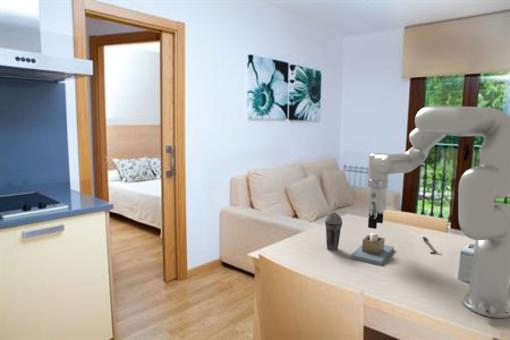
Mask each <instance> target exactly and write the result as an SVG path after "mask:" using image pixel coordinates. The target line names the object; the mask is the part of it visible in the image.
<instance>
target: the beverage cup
mask: <svg viewBox="0 0 510 340" xmlns="http://www.w3.org/2000/svg"><path fill="white" fill-rule="evenodd" d="M333 205H334V207H333V209H334V210H333V212H332V213H329V214H327V216H326V218H325V220H324V223H325V224H324V225H325V236H326V239H325V240H326V250H328V251H330V252H331V251H332V252H335V251H338V249H339V244H340V239H341V237H340V236H341V230H342V227H343V219H342V217H341V215H339V214H338V213H336V207H337V202H334V204H333Z"/></svg>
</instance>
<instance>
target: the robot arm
mask: <svg viewBox="0 0 510 340" xmlns="http://www.w3.org/2000/svg"><path fill="white" fill-rule="evenodd" d="M414 125H415V127H414V129H412V130H411V132H410V133H409V134H408V135H409V136H408V138H409V139H408V140H409V142H410V143H411V145H412V147H411V148H409V149H407V151H405V152H404V153H385V152H372V153H370V154H369V156H368V171H367V173H368V175H367V188H369V190H368V192H369V193H368V203H367V209H368V210H367V211H368V221H367V222H368V223H367V228H369V229H373V230H376V229H377V227H378V225H377V224H383V223H384V212H385V211H386V209H387V189H388V182H389V180H388V179H389V175H393V174H394V175H395V174H407V173H411V172H412V171H413V170H415V169H416V168H418V167H419V166H420V165H421V164H422V163H424V162H425V160H426V159H427V158H428V156H429V153H430V150H431V149H432V148H433V147H434V146H435V145H437V144H438V143H439V142H440V141H441V140H443V139H444V138H446V136H453V137H482V138H483V142H482V143H481V146H480V149H479V164H478V165H479V166H473V167H470V168H469V169H467V170H465V172H464V173H463V174H462V175H461V177H460V179H459V182H458V191H457V192H458V207H457V208H458V210H457V211H458V224H459V228H460V230H461V231H462V234H464V236H466V237H467V238H469V239H471V240H473V241H475V243H474V245H475V246H474V253H473V262H472V271H471V280H470V282H469V290H468V294H465V295H463V296H462V300H461V301H462V304H463V305H464V306H465V307H466V308H467V309H469V310H470V311H471V312H474V313H476V314H479V315H482V316H486V317H489V318H494V319H495V318H496V319H507V318H509V317H510V304H508V296H509V289H510V204H508V203H503V202H495V200H500V199H504V198H507V197H509V196H510V115H509V114H507V113H506V112H505V111H502V110H500V109H497V108H493V107H486V106H485V107H483V106H457V105H455V106H453V105H452V106H448V105H447V106H445V105H426V106H424V107H422V108H421V109H420V110H419V111H417V113H416V115H415V117H414Z"/></svg>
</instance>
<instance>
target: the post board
mask: <svg viewBox="0 0 510 340" xmlns="http://www.w3.org/2000/svg"><path fill="white" fill-rule="evenodd" d="M369 236H370V240H371V241H378V237H379V234H378V233H376V232H370V234H369ZM393 251H394V246H391V245H386V244H384V250H383V252H382V253H381V254H380V255H377V254H372V253H367V252H363V251H362V244H361V245H360V246H359V247H357V248H356V249H355V251H353V252H352V253H351V254H350V259H352V260H355V261H361V262H365V263H369V264H373V265H378V266H383V264H384V263H385V262H386V261H387V259H388V258H389V257H390V255H391V254H392V252H393Z"/></svg>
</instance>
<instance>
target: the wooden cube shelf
mask: <svg viewBox="0 0 510 340" xmlns="http://www.w3.org/2000/svg"><path fill="white" fill-rule="evenodd" d="M385 240H386V239H385V238H384V237H379V236H378V241H371V240H370V234H367V235H366V236H365V237H363V238H362V244H361V245H362V251H363V252H367V253H372V254H377V255H380V254H381V253H382V252H383V250H384V245H385Z"/></svg>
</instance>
